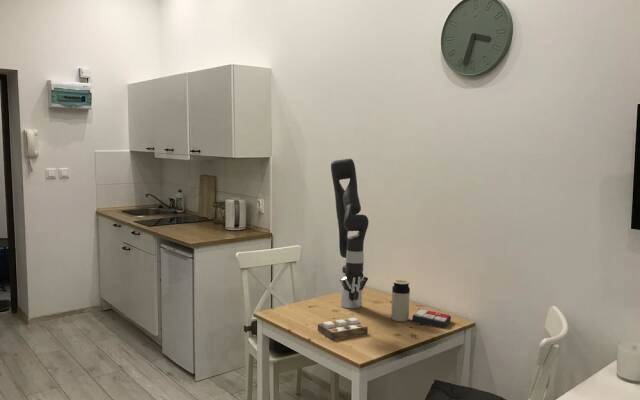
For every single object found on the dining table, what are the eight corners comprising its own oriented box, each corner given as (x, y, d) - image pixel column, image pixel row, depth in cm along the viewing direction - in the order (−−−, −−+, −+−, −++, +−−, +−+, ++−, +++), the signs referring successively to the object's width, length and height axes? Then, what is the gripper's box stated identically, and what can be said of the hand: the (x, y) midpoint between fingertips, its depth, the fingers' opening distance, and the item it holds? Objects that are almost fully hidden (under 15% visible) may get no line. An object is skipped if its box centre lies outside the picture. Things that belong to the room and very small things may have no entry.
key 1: (330, 326, 229) (330, 321, 229) (334, 329, 226) (334, 323, 226) (322, 328, 227) (323, 322, 227) (327, 330, 224) (327, 324, 224)
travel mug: (408, 322, 243) (409, 284, 242) (390, 321, 245) (392, 282, 243) (408, 317, 251) (410, 279, 249) (391, 316, 253) (393, 278, 251)
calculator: (445, 321, 237) (412, 313, 243) (444, 330, 237) (411, 323, 244) (451, 314, 246) (419, 307, 253) (450, 323, 247) (419, 316, 254)
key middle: (342, 324, 232) (342, 319, 232) (346, 327, 229) (346, 321, 228) (335, 326, 230) (335, 320, 230) (339, 328, 227) (339, 322, 227)
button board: (352, 325, 238) (352, 318, 237) (367, 333, 227) (367, 326, 227) (317, 330, 229) (317, 323, 229) (331, 340, 219) (331, 332, 218)
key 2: (353, 323, 235) (354, 317, 234) (358, 325, 232) (358, 319, 231) (346, 324, 233) (347, 318, 233) (351, 326, 230) (351, 321, 230)
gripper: (363, 257, 236) (361, 296, 238) (336, 260, 230) (335, 299, 231) (372, 261, 230) (371, 300, 231) (345, 263, 223) (344, 304, 225)
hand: (353, 300), depth 231 cm, fingers closed
